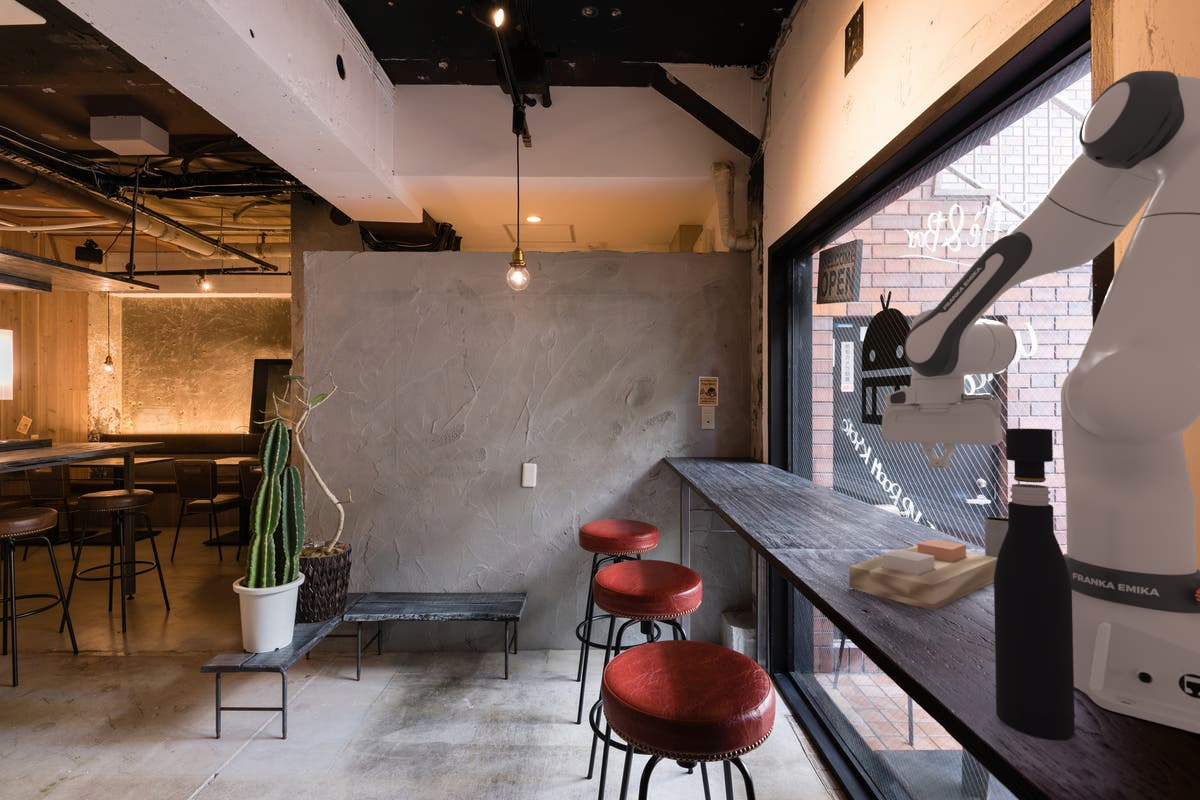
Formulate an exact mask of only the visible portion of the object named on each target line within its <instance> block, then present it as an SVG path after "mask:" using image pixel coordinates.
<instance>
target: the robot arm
mask: <svg viewBox="0 0 1200 800" xmlns="http://www.w3.org/2000/svg"><path fill="white" fill-rule="evenodd" d="M1078 141H1079V148H1080V152H1079V153H1078V154H1077V155H1076V156H1075V157H1074V159H1073V160H1072V161H1071V162H1070V163H1069V164H1068V165H1067V166H1066V168H1064V170H1063V171H1062V173H1061V174H1060V175H1059V176H1058V177H1057V179H1056V180H1055V181H1054V182H1053V184H1052V185H1051V186H1050V187H1049V189H1048V191H1047V192H1046V193H1045V194H1044V196H1042V198H1041V199H1040V201H1039V202H1038V203H1037V205H1036V206H1034V208H1033V209H1032V210H1031V212H1029V213H1028V215H1026V216H1025V217H1024V218H1023V219H1022V220H1021V221H1020V222H1019V223H1018V224H1017V225H1016V226H1015V227H1014V228H1013V229H1011V230H1010V231H1009V232H1008V233H1006V234H1005V235H1003V236H1002V237H1000V238H999V239H997V240H996V241H995V242H994V243H992V244H991V245H990V246H989V247H988V249H986V250H985V251H984V252H983V253H982V254H981V255H980V256H979V257H978V259H977V260H975V262H974V263H973V264H972V265H971V267H970V268H969V269H967V271H966V273H965V274H964V275H963V276H962V277H961V278H960V280H958V281H957V283H956V284H955V285H954V286H953V288H952V289H951V290H950V291H949V292H948V293H947V294H946V296H945V297H943V299H942V300H941V301H940V302H939V303H938V305H937V306H936V307H934V308H930V309H926V310H924V311H922V312H919V313H917V315H916V316H915V317H914V318H913V320H912V325H911V328H910V330H909V332H908V333H907V335H906V338H905V341H904V347H903V349H904V355H905V358H906V360H907V362H908V364H909V365H910V367H911V368H912V372H911V375H910V386H907V387H904V388H902V389H899V390H896V391H893V392H890V393H887V394H886V395H885V397H884V402H885V404H886V405H887V406H886V407H885V409H884V410H883V413H882V418H881V419H882V421H881V436H882V439H884V441H885V442H887V443H909V444H910V443H911V444H912V443H913V444H914V443H915V444H922V445H921V446H922V450H923V452H924V454H925V455H926V457H927V458H928V463H929V464H928V466H929V468H932V469H933V468H937V469H950V468H951V467H950V466H951V465H950V463H951V462H950V460H951V457H952V456H953V455H954V453H955V452H956V450H957V445H969V446H970V445H972V446H973V445H974V446H976V445H977V446H997V445H999V444H1000V443H1001V442H1002V441H1003V439H1004V438H1003V427H1002V421H1001V418H1000V417H1001V414H1002V402H1001V400H1000V398H999V397H998V396H996V395H992V394H991V393H988V392H986V393H966V391H965V389H966V388H965V387H966V385H965V376H967V375H971V376H972V375H990V374H994V373H999V372H1002V371H1004V370H1005V369H1007V367H1009V366H1010V364H1011V363H1012V362H1013V361H1014V358H1015V356H1016V353H1017V349H1018V348H1017V347H1018V346H1017V345H1018V344H1017V338H1016V335H1015V333H1014V331H1013V330H1012V328H1011V327H1010V326H1009V325H1008V324H1006V323H1004V322H1001V321H997V320H993V319H986V318H981V317H982V316H983V315H984V314H985V313H986V312H987V311H988V310H989V309H990V307H992V306H993V304H995V303H996V301H997V300H998V299H999V298H1000V297H1001V296H1002V295H1004V294H1005V293H1006V292H1007V291H1009V290H1010V289H1012V288H1013V287H1015V286H1017V285H1020V284H1021V283H1024V282H1026V281H1028V280H1032V279H1034V278H1038V277H1041V276H1044V275H1048V274H1053V273H1057V272H1060V271H1061V272H1062V271H1065V270H1070V269H1073V268H1077V267H1080V266H1083V265H1085V264H1087V263H1089V262H1090V261H1092V260H1093V259H1095V258H1096V257H1097V256H1098V255H1100V254H1101V253H1103V251H1105V250H1106V249H1107V248H1108V247H1109V246H1110V245H1111V244H1112V243H1114V241H1116V239H1117V238H1118V237H1120V234H1121V233H1122V232H1123V231H1124V230H1125V228H1126V227H1127V226H1128V225H1129V224H1130V223H1131V222H1132V220H1133V219H1134V218H1135V217H1136V216H1137V214H1138V213H1139V212H1140V211H1141V209H1142V208H1143V206H1144V205H1145V204H1146V203H1147V204H1146V206H1145V208H1144V210H1143V212H1142V213H1141V216H1140V218H1139V221H1138V222H1137V225H1136V227H1135V230H1134V231H1133V234H1132V236H1131V238H1130V241H1129V243H1128V245H1127V247H1126V250H1125V251H1124V254H1123V256H1122V258H1121V261H1120V263H1119V265H1118V267H1117V269H1116V272H1115V273H1114V276H1113V277H1112V280H1111V282H1110V285H1109V287H1108V289H1107V292H1106V294H1105V297H1104V299H1103V303H1102V305H1101V307H1100V310H1099V312H1098V314H1097V317H1096V319H1095V322H1094V324H1093V326H1092V329H1091V332H1090V334H1089V337H1088V339H1087V342H1086V343H1085V346H1084V348H1083V350H1082V352H1081V354H1080V357H1079V360H1078V362H1077V364H1076V366H1075V367H1074V368H1073V369H1072V370H1071V371H1070V372H1069V373H1068V375H1067V376H1066V377H1065V379H1064V381H1063V383H1062V386H1061V391H1060V411H1061V413H1060V414H1061V430H1062V434H1061V435H1062V436H1061V437H1062V449H1063V451H1062V453H1063V466H1064V483H1065V485H1064V486H1065V510H1066V511H1065V513H1066V514H1065V517H1066V518H1065V519H1066V553H1064V554H1063V556H1064V558H1065V561H1066V564H1067V568H1068V572H1069V576H1070V580H1071V585H1072V620H1073V668H1074V688H1076V689H1078V690H1079V691H1081V692H1082V693H1084V694H1085V695H1087V696H1088V698H1090V699H1091V700H1092V701H1093V703H1095V704H1096V705H1098V706H1099V707H1100V708H1103V709H1106V710H1107V711H1110V712H1111V711H1112V712H1114V713H1117V714H1122V715H1126V716H1131V717H1135V718H1137V719H1142V720H1144V721H1145V720H1146V721H1149V722H1154V723H1157V724H1160V725H1165V726H1168V727H1172V728H1176V729H1180V730H1184V731H1187V732H1191V733H1195V734H1199V735H1200V569H1198V567H1197V566H1198V564H1197V563H1198V561H1197V533H1196V532H1197V531H1196V529H1197V528H1196V527H1197V526H1196V524H1197V523H1196V498H1195V495H1194V494H1195V493H1194V492H1193V488H1192V483H1191V478H1190V474H1189V468H1188V467H1189V466H1188V461H1187V457H1186V450H1185V442H1184V441H1185V440H1184V436H1183V435H1184V432H1186V431H1187V430H1188V429H1190V428H1191V427H1192V426H1193V425H1194V424H1195V423H1196V422H1197V421H1198V419H1199V418H1200V77H1193V76H1192V77H1191V76H1185V75H1176V74H1175V73H1174V72H1172V71H1169V70H1168V71H1165V70H1140V71H1139V70H1138V71H1133V72H1130V73H1128V74H1126V75H1124V76H1122V77H1121V78H1119V79H1118V80H1116V81H1115V82H1114V83H1112V84H1110V86H1108V87H1107V88H1106V89H1105V90H1103V92H1102V93H1101V94H1100V95H1099V96H1098V97H1097V99H1096V100H1095V101H1094V102H1093V104H1092V105H1091V107H1090V108H1089V110H1088V112H1087V113H1086V115H1085V117H1084V119H1083V121H1082V124H1081V126H1080V129H1079V134H1078ZM1147 201H1148V202H1147ZM936 444H939V445H940V444H941V445H942V450H944V451H945V452H944V454H943V455H942V457H937V456H936V454H935V452H934V450H933V449H935V448H936Z"/></svg>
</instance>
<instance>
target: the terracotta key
mask: <svg viewBox="0 0 1200 800" xmlns="http://www.w3.org/2000/svg"><path fill="white" fill-rule="evenodd" d="M917 545H918V553H922V554H928V555H933V556H934V559H935V560H941V561H946V562H951V563H954V562H957V561H959V560H962V559H965V558H966V552H967V547H966V545H967V544H964V543H956V542H952V541H945V540H940V539H933V538H932V539H928V540H925V541H921V542H918V543H917Z"/></svg>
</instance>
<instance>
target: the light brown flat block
mask: <svg viewBox="0 0 1200 800" xmlns="http://www.w3.org/2000/svg"><path fill="white" fill-rule="evenodd" d="M902 550H906V551H912V552H917V553H918V544H916V545H913V546H910V547H908V548H904V549H902ZM996 562H997V558H996V557H991V556H985V554H979V553H972V552H968V551H966V558H965V559H962V560H959V561H957V562H954V563H951V562H946V561H941V560H935V559H934V569H935V570H933V571H931V572H928V573H925V574H923V575H920V576H918V575H913V574H909V573H904V572H900V571H895V570H891V569H886V568H883V555H881V556H878V557H875V558H872V559H871V558H870V559H868V560H865V561H862V562H859V563H855V564H852V565H850V566H848V570H849V571H848V572H849V589H850V588H853V589H856V590H859V591H858V592H860V591H863V592H866V593H865V594H867V593H869V594H868V595H871V594H872V595H871V596H876V597H879V598H884V599H886V598H887V599H886V600H890V599H891V601H895V602H899V603H903V604H906V605H910V606H913V607H917V608H922V609H926V610H929V611H935V610H937V609H940V608H942V607H944V606H947V605H948V604H950V603H952V602H954V601H956V600H958V599H960V598H963V597H965V596H967V595H969V594H971V593H974V592H976V591H977V590H979V589H982V588H984V587H986V586H988V585H990V584H992V583H993V584H994V573H995V567H996ZM856 590H855V591H856ZM863 592H862V593H863Z"/></svg>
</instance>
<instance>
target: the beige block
mask: <svg viewBox="0 0 1200 800" xmlns="http://www.w3.org/2000/svg"><path fill="white" fill-rule="evenodd" d="M882 556H883V568H886V569H891V570H895V571H900V572H904V573H909V574H913V575H918V576H920V575H923V574H925V573H928V572H931V571H933V570H935V569H934V556H933V555H928V554H922V553H917V552H912V551H906V550H903V549H901V548H900V549H896V550H895V549H894V550H892V551H889V552H886V553H883V554H882Z"/></svg>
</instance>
